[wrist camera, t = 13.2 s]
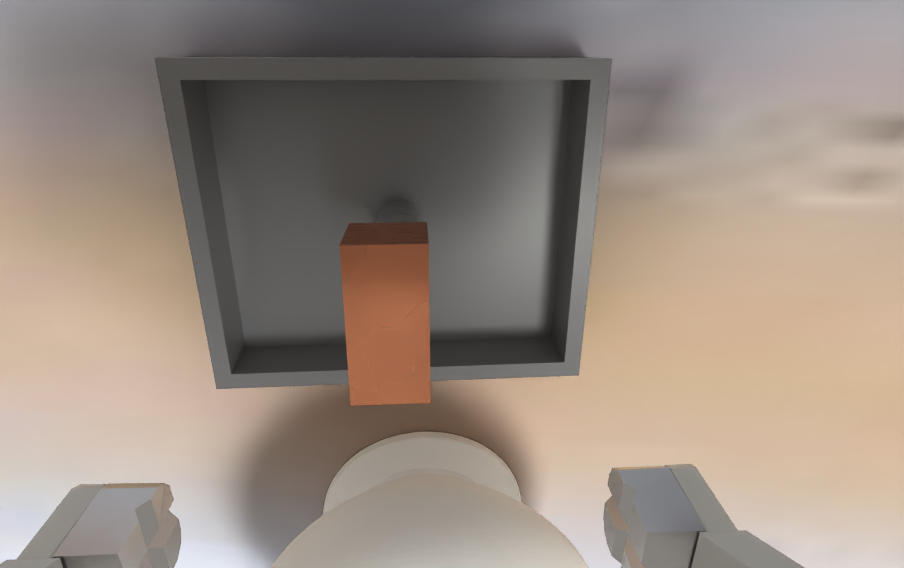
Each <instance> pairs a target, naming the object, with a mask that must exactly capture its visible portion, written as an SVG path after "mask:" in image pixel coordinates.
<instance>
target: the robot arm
mask: <svg viewBox="0 0 904 568" xmlns="http://www.w3.org/2000/svg"><path fill="white" fill-rule="evenodd" d="M608 486H609V489H610V491H611V494H612V496H611V497H610V498H609V499H608V500H607V501H606V502H605V507H604V531H605V536H606V540H607V544H608V547H609V550H610V553H611V555H612V556H613V557H614V558H615V559H616V560H617V561H619V562H620V563H621V564H622V565H621V568H804V567H803V566H801V565H800V564H798V563H796V562H795V561H793V560H792V559H790V558H789V557H787V556H785V555H784V554H782V553H781V552H779V551H778V550H776V549H774V548H773V547H771V546H770V545H768V544H767V543H765V542H763V541H762V540H760V539H759V538H757V537H756V536H754V535H752V534H751V533H749V532H748V531H746V530H745V531H738V530H737V528H736V527H735V525H734V524H733V522H732V521H731V519H730V518H729V516H728V515H727V513H726V512H725V510H724V509H723V507H722V506H721V504H720V503H719V501H718V500H717V498H716V497H715V495H714V494H713V492H712V491H711V489H710V488H709V486H708V485H707V483H706V482H705V480H704V479H703V477H702V476H701V474H700V473H699V471H698V470H697V468H696V467H695V466H693V465H692V464H681V465H665V466H647V467H623V468H612V470H611V472H610V474H609V480H608ZM173 500H174V499H173V496H172V492H171V489H170V486H169V485H167V484H165V483H124V484H80V485H78V486H77V487H75V488H73V489H71V490H70V492H69V493H68V494H67V495H66V497H65V498H64V499H63V500H62V502H61V503H60V504H59V506H58V507H57V508H56V509H55V511H54V512H53V513H52V515H51V516H50V517H49V518H48V520H47V521H46V522H45V523H44V525H43V526H42V527H41V529H40V530H39V531H38V532H37V534H36V535H35V536H34V538H33V539H32V540H31V541H30V543H29V544H28V545H27V546H26V548H25V549H24V550H23V552H22V553H21V554H20V555H19V557H18V558H17V559H16V560H6V561H4V562H3V563H1V564H0V568H174V566H175V564H176V562H177V559H178V554H179V550H180V545H181V528H180V523H179V519H178V518H177V517H176V516H175V515H173V514H172V513H171V512H170V511H169V508H170V506H171V504H172V502H173Z"/></svg>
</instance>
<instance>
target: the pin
mask: <svg viewBox="0 0 904 568" xmlns="http://www.w3.org/2000/svg"><path fill="white" fill-rule="evenodd" d="M339 247H340V261H341V276H342V290H343V305H344V319H345V333H346V348H347V362H348V377H349V391H350V405H351V406H352V405H384V404H417V403H431V393H430V306H429V240H428V228H427V222H422V221H421V215H420V213H419V211H418V209H417V208H416V207H415V206H414V205H413V204H412V203H410V202H408V201H406V200H401V199H396V200H392V201H389V202H387V203H386V204H384V205H383V206H382V207H381V208H380V210H379V212H378V214H377V218H376V222H375V223H349V224H348V227H347V229H346V231H345V234H344V236H343V238H342V240H341V243H340V245H339Z"/></svg>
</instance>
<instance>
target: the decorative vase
mask: <svg viewBox="0 0 904 568" xmlns="http://www.w3.org/2000/svg"><path fill="white" fill-rule="evenodd" d="M271 568H589V567H588V566H587V564H586V562H585V561H584V559H583V558H582V556H581V555H580V553H579V552H578V551H577V549H576V548H575V547H574V545H573V544H572V543H571V542H570V541H569V540H568V538H567V537H566V536H565V535H564V534H563V533H562V532H561V531H560V530H559V529H558V528H557V527H555V526H554V525H553V524H552V523H551V522H550V521H548V520H547V519H546V518H544V517H543V516H542V515H540V514H539V513H537V512H536V511H535V510H533V509H531V508H530V507H528V506H527V505H525V504H523V503H522V500H521V495H520V491H519V487H518V484H517V482H516V479H515V477H514V475H513V473H512V472H511V470H510V469H509V467H508V466H507V465H506V464H505V462H504V461H503V460H502V459H501V458H500V457H499V456H498V455H496V454H495V453H494V452H493V451H491V450H490V449H488V448H487V447H485V446H483V445H482V444H480V443H478V442H475V441H473V440H471V439H468V438H465V437H462V436H458V435H454V434H449V433H443V432H412V433H405V434H400V435H396V436H392V437H389V438H386V439H383V440H381V441H378V442H376V443H374V444H372V445H370V446H368V447H366V448H365V449H363V450H361V451H360V452H358V453H357V454H356V455H354V456H353V457H352V458H351V459H349V460H348V461H347V462H346V463H345V464H344V465H343V466H342V468H341V469H340V470H339V471H338V473H337V474H336V475H335V477H334V479H333V480H332V482H331V484H330V486H329V489H328V491H327V494H326V498H325V503H324V509H323V516H321V517H320V518H318V519H317V520H316V521H314V522H313V523H312V524H311V525H309V526H308V527H307V528H306V529H305V530H303V531H302V532H301V533H300V534H299V535H298V536H297V537H296V538H295V539H294V540H293V541H292V542H291V543H290V544H289V545H288V546H287V547H286V548H285V549H284V551H283V552H282V553H281V554H280V555H279V557H278V558H277V559H276V561H275V562H274V563H273V565H272V566H271Z"/></svg>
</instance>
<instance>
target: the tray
mask: <svg viewBox="0 0 904 568" xmlns="http://www.w3.org/2000/svg"><path fill="white" fill-rule="evenodd" d="M155 62H156V67H157V72H158V78H159V83H160V89H161V94H162V99H163V105H164V110H165V115H166V121H167V126H168V131H169V137H170V142H171V147H172V153H173V158H174V164H175V169H176V174H177V180H178V185H179V190H180V196H181V201H182V206H183V212H184V217H185V222H186V228H187V233H188V239H189V244H190V249H191V255H192V260H193V265H194V271H195V276H196V281H197V287H198V292H199V297H200V303H201V308H202V314H203V319H204V324H205V330H206V335H207V340H208V346H209V351H210V356H211V362H212V367H213V372H214V378H215V383H216V389H229V388H256V387H283V386H309V385H336V384H349V377H348V362H347V348H346V333H345V319H344V305H343V290H342V276H341V261H340V247H339V245H340V243H341V240H342V238H343V236H344V234H345V231H346V229H347V227H348V224H349V223H375V222H376V218H377V214H378V212H379V210H380V208H381V207H382V206H383V205H384V204H386V203H387V202H389V201H392V200H396V199H401V200H406V201H408V202H410V203H412V204H413V205H414V206H415V207H416V208H417V209H418V211H419V213H420V215H421V221H422V222H427V228H428V240H429V306H430V381H442V380H469V379H496V378H522V377H549V376H576V375H579V368H580V358H581V349H582V339H583V330H584V320H585V311H586V301H587V292H588V282H589V273H590V263H591V254H592V244H593V235H594V225H595V216H596V206H597V197H598V187H599V178H600V168H601V159H602V149H603V140H604V130H605V121H606V111H607V102H608V92H609V83H610V73H611V64H612V59H606V58H590V57H236V56H185V57H164V58H155Z"/></svg>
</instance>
